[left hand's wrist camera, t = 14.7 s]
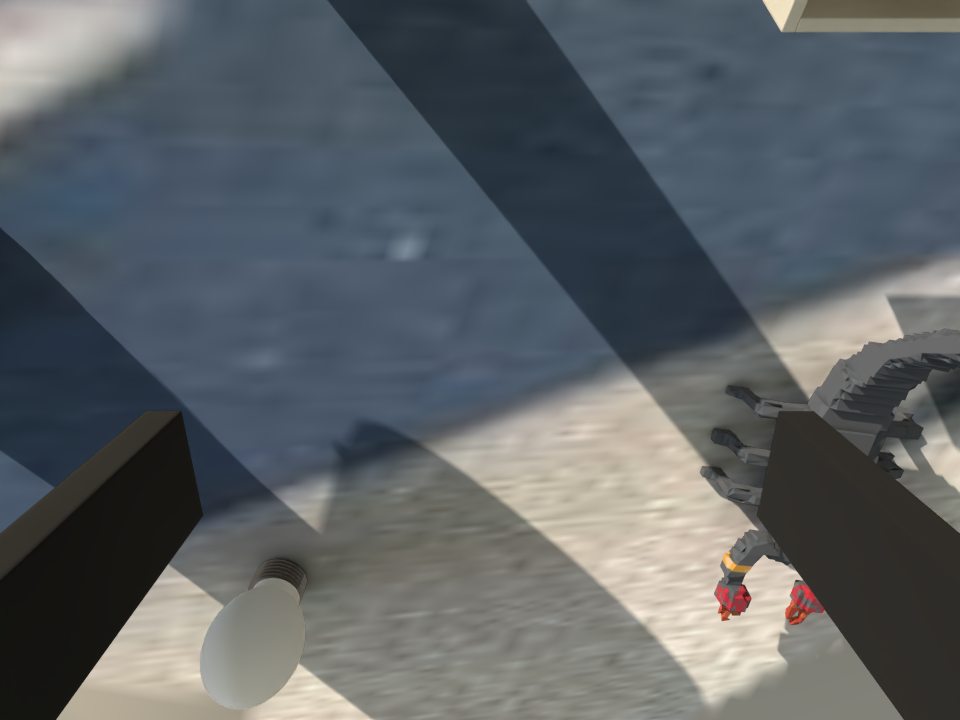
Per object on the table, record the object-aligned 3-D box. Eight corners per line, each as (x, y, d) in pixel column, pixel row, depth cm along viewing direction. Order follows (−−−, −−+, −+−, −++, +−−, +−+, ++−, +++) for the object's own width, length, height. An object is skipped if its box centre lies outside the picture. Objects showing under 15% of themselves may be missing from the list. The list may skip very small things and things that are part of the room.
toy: (962, 288, 39) (1341, 411, 22) (821, 598, 48) (1007, 852, 31) (768, 260, 38) (1002, 365, 21) (664, 580, 48) (767, 830, 31)
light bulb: (227, 583, 48) (159, 706, 38) (269, 529, 46) (208, 643, 36) (298, 621, 49) (251, 749, 39) (341, 570, 47) (303, 692, 37)
